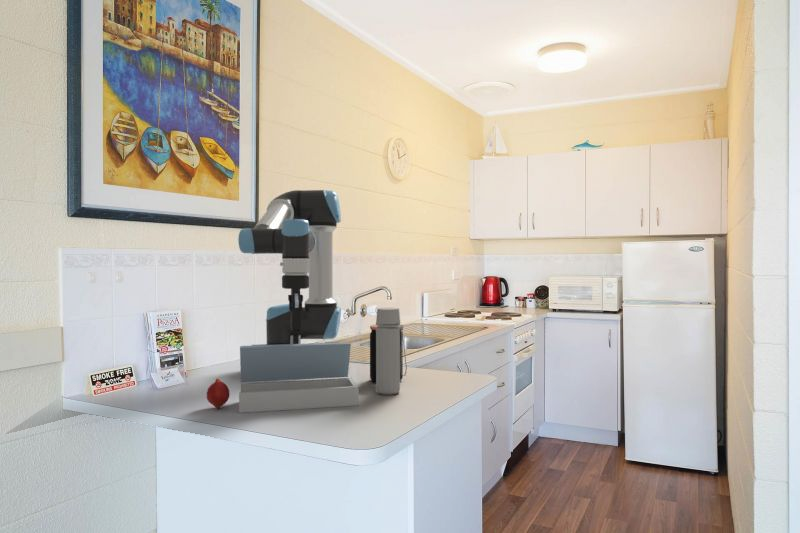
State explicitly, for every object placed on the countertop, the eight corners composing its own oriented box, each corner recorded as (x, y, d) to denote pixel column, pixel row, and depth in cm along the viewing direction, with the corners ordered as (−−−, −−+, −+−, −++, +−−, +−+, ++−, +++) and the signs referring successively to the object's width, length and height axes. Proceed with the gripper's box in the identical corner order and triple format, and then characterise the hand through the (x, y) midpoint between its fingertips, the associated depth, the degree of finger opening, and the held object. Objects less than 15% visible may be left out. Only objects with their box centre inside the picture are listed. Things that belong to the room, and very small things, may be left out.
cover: (241, 380, 157) (240, 344, 151) (347, 375, 164) (350, 340, 158) (241, 384, 156) (239, 347, 150) (347, 378, 163) (350, 343, 157)
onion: (207, 406, 150) (206, 376, 150) (229, 404, 152) (229, 375, 152) (206, 412, 145) (206, 381, 144) (229, 410, 146) (229, 379, 146)
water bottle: (377, 396, 161) (377, 309, 161) (374, 390, 169) (374, 307, 168) (408, 395, 162) (408, 309, 162) (404, 388, 170) (404, 307, 170)
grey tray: (241, 401, 155) (240, 383, 155) (351, 394, 163) (351, 377, 163) (239, 412, 144) (239, 393, 144) (358, 405, 151) (358, 386, 151)
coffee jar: (399, 385, 175) (399, 328, 175) (366, 383, 177) (366, 327, 177) (405, 378, 186) (405, 324, 186) (374, 376, 188) (374, 323, 188)
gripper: (281, 273, 162) (281, 354, 162) (282, 275, 149) (282, 362, 150) (307, 273, 164) (307, 353, 164) (310, 275, 151) (310, 361, 152)
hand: (295, 358), depth 157 cm, fingers closed
